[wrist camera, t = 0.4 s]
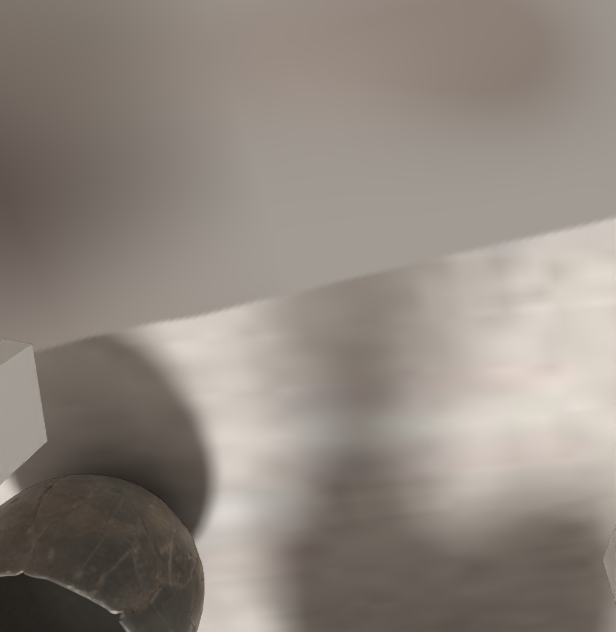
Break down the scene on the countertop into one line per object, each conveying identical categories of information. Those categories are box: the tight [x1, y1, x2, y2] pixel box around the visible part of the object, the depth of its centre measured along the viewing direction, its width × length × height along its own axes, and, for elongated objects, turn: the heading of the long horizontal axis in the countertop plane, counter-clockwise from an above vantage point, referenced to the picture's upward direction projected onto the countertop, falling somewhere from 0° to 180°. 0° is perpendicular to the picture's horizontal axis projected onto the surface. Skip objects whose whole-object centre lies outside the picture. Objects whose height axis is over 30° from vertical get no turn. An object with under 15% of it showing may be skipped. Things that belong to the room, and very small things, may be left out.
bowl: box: [0, 474, 204, 632], centre depth 43 cm, size 18×18×13 cm
